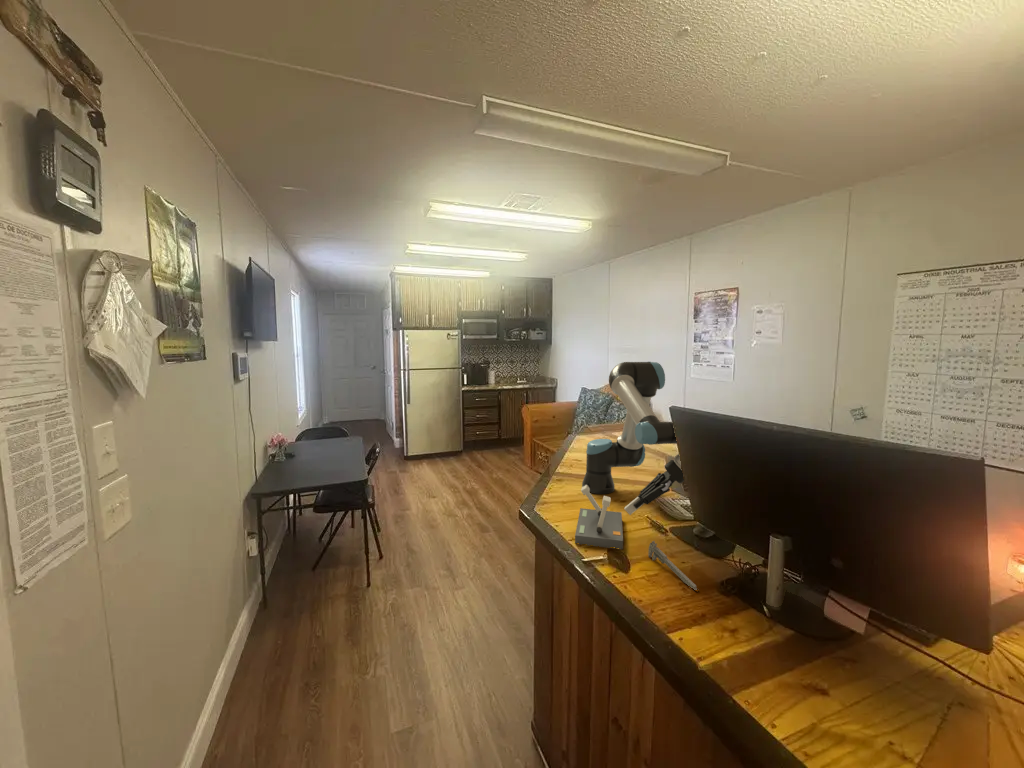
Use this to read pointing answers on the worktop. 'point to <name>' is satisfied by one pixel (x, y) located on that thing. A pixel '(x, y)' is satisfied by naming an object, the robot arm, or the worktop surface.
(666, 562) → the caliper
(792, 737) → the worktop surface
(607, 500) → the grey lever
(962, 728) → the worktop surface
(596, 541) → the panel
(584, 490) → the lever
